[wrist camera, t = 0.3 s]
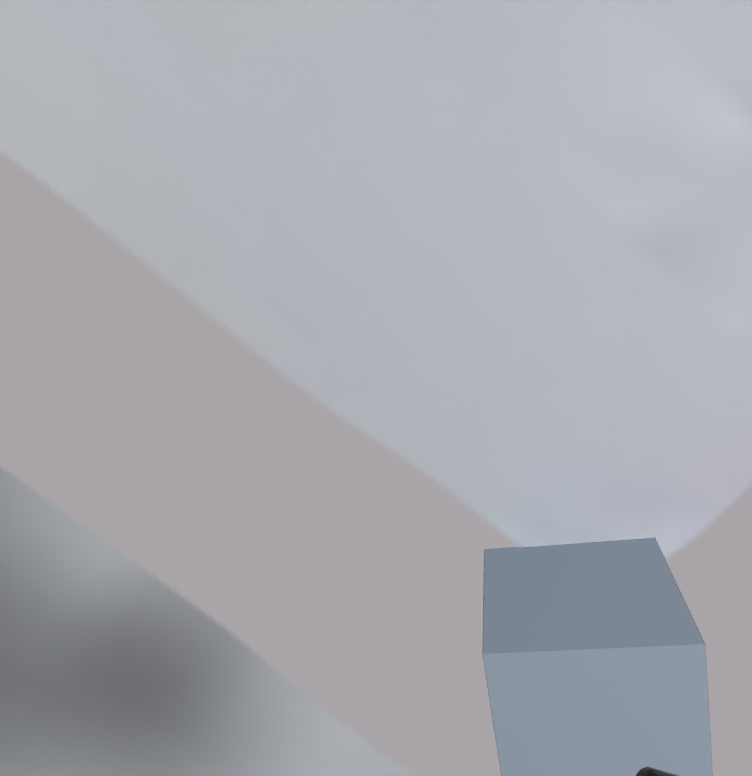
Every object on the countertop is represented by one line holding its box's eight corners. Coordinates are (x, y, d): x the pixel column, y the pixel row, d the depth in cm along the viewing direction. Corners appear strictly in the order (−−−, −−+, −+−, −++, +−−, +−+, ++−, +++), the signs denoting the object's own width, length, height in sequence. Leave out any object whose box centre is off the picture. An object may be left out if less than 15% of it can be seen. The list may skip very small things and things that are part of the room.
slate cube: (665, 680, 21) (715, 820, 17) (503, 685, 22) (507, 819, 18) (654, 536, 20) (705, 644, 15) (484, 549, 21) (482, 653, 16)
